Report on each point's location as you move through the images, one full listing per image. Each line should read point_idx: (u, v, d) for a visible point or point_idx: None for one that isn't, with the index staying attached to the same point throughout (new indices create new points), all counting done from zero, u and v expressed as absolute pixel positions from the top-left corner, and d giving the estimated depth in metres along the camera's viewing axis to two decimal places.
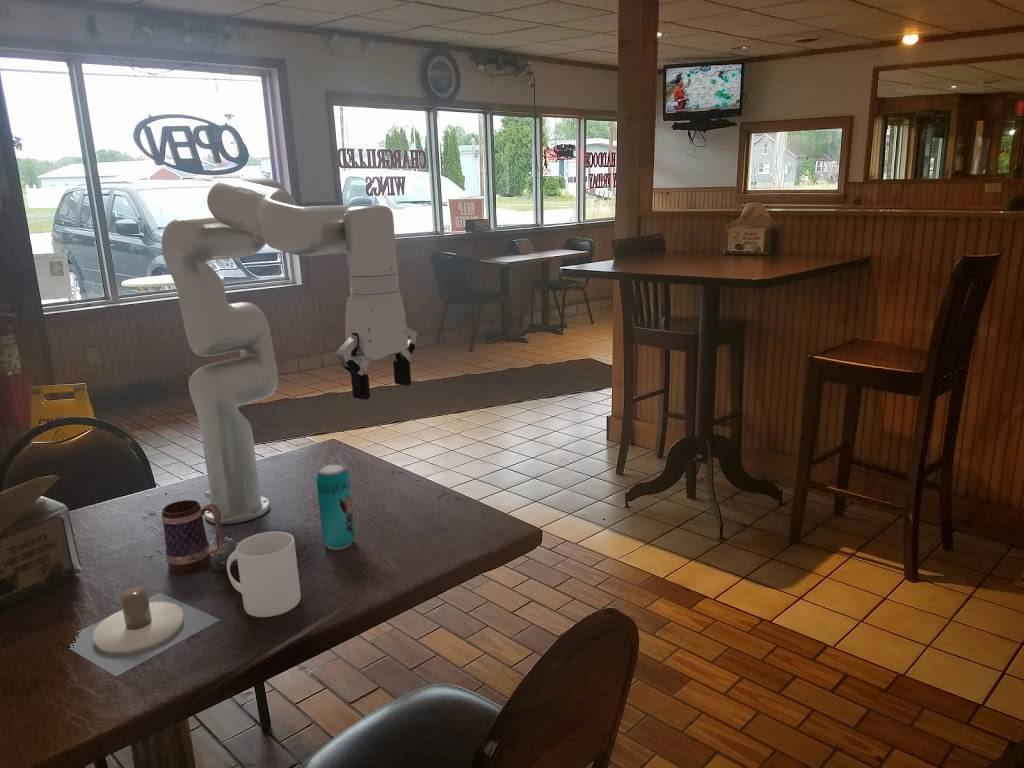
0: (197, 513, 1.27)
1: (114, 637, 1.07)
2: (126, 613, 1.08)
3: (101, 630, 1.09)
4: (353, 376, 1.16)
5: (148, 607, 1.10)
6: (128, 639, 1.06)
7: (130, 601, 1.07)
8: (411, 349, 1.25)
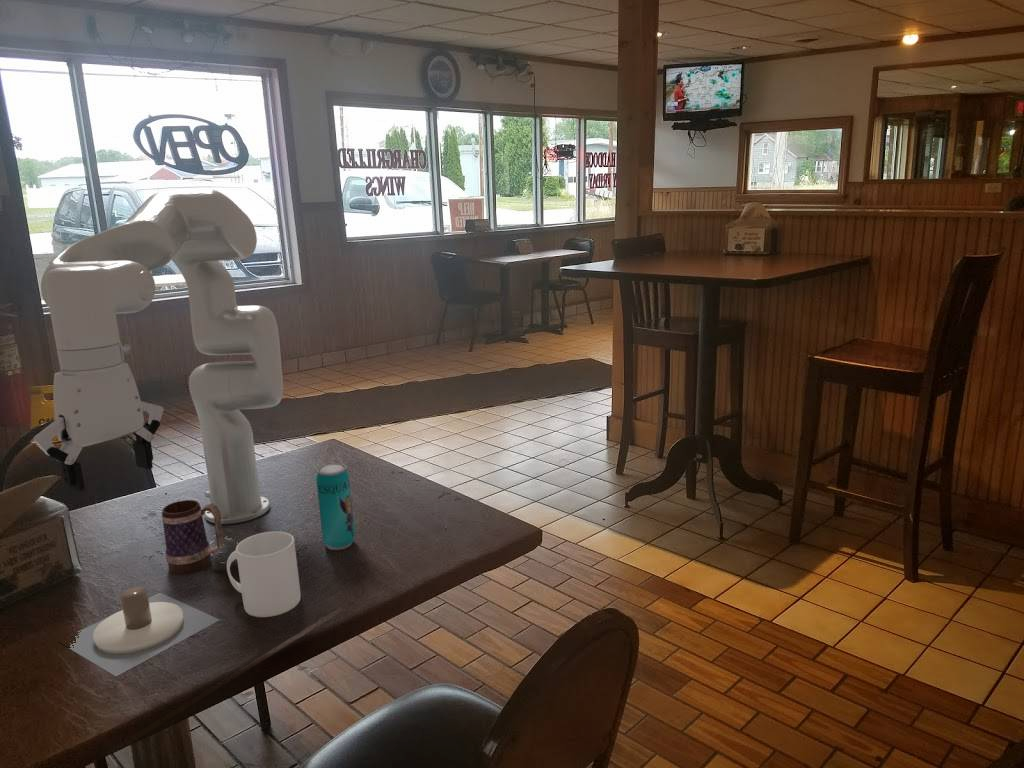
0: (197, 513, 1.27)
1: (114, 637, 1.07)
2: (126, 613, 1.08)
3: (100, 630, 1.09)
4: (62, 465, 0.99)
5: (148, 607, 1.10)
6: (128, 638, 1.06)
7: (130, 601, 1.07)
8: (154, 427, 1.08)
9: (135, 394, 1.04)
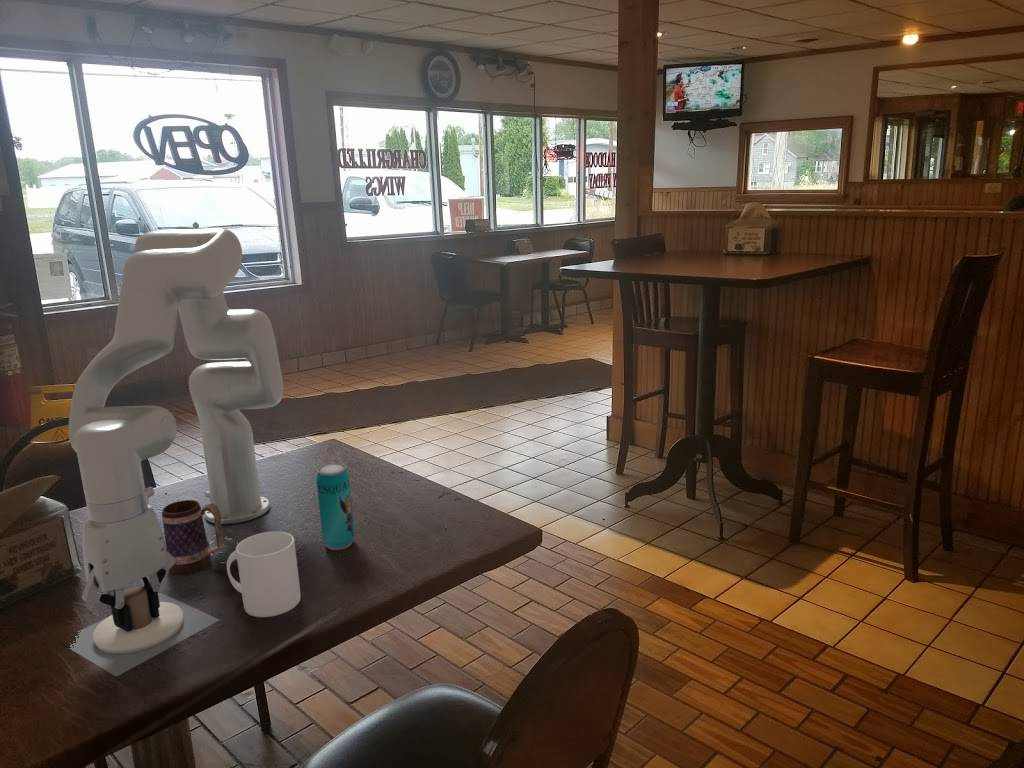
0: (197, 513, 1.27)
1: (114, 637, 1.07)
2: None
3: (100, 630, 1.09)
4: (112, 608, 1.07)
5: (148, 607, 1.10)
6: (128, 638, 1.06)
7: (130, 601, 1.07)
8: (160, 576, 1.11)
9: (159, 535, 1.09)
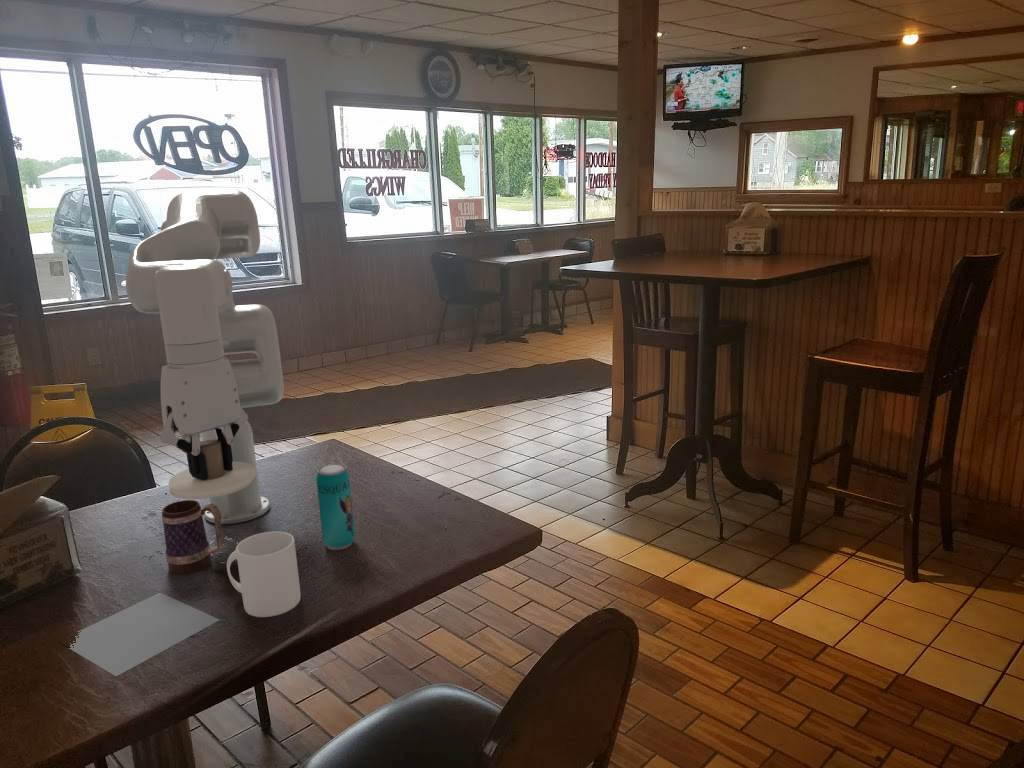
0: (197, 513, 1.27)
1: (189, 484, 1.07)
2: None
3: (175, 480, 1.09)
4: (188, 455, 1.07)
5: (222, 459, 1.10)
6: (204, 485, 1.06)
7: (205, 449, 1.08)
8: (233, 430, 1.11)
9: (234, 386, 1.09)
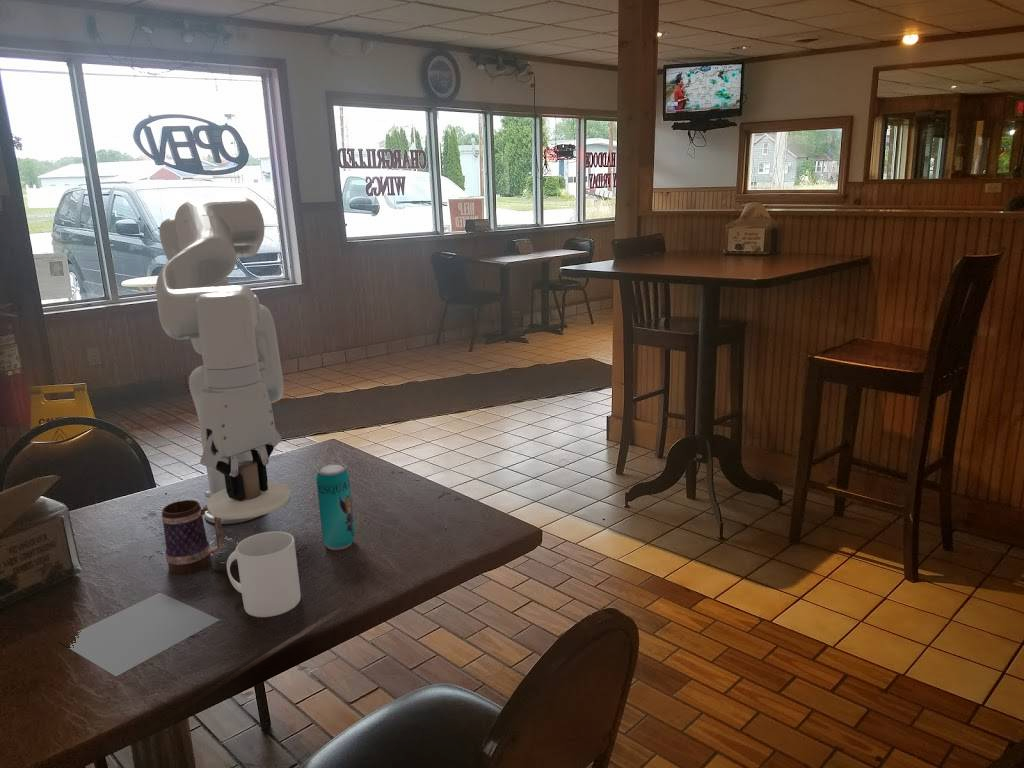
0: (197, 513, 1.27)
1: (228, 505, 1.10)
2: None
3: (213, 500, 1.11)
4: (226, 477, 1.10)
5: (258, 479, 1.13)
6: (243, 506, 1.09)
7: (243, 470, 1.10)
8: (268, 451, 1.14)
9: (269, 408, 1.12)
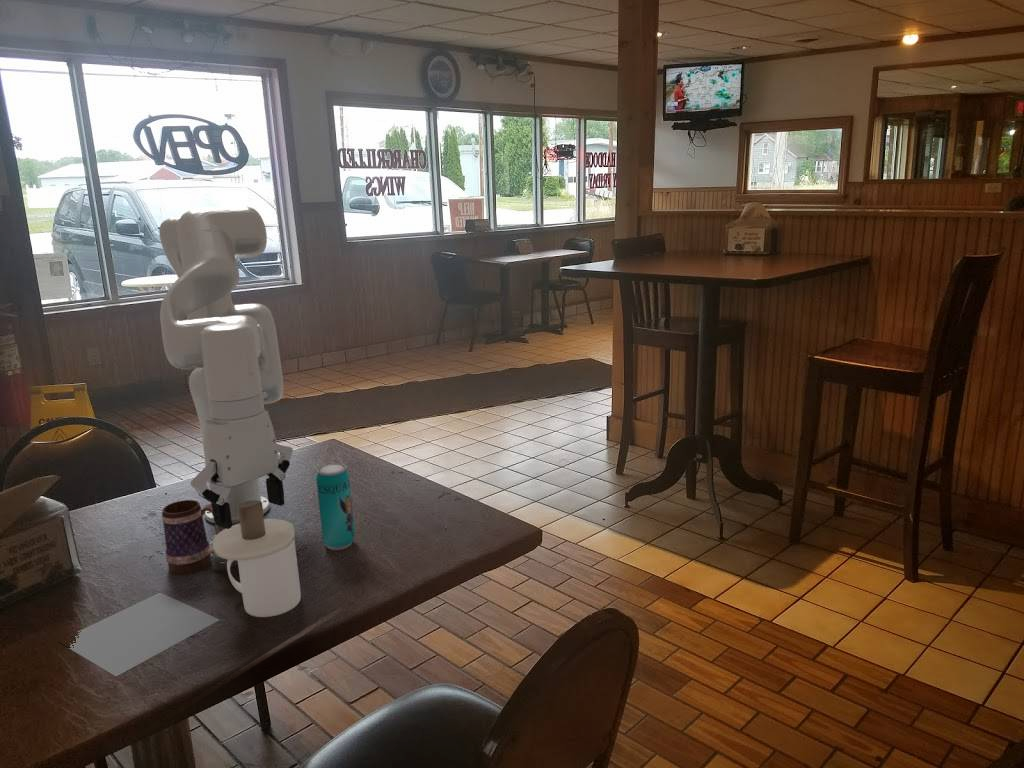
0: (197, 513, 1.27)
1: (233, 545, 1.11)
2: (244, 523, 1.13)
3: (219, 540, 1.13)
4: (213, 505, 1.09)
5: (263, 519, 1.14)
6: (248, 546, 1.11)
7: (248, 511, 1.12)
8: (285, 466, 1.17)
9: (273, 438, 1.13)
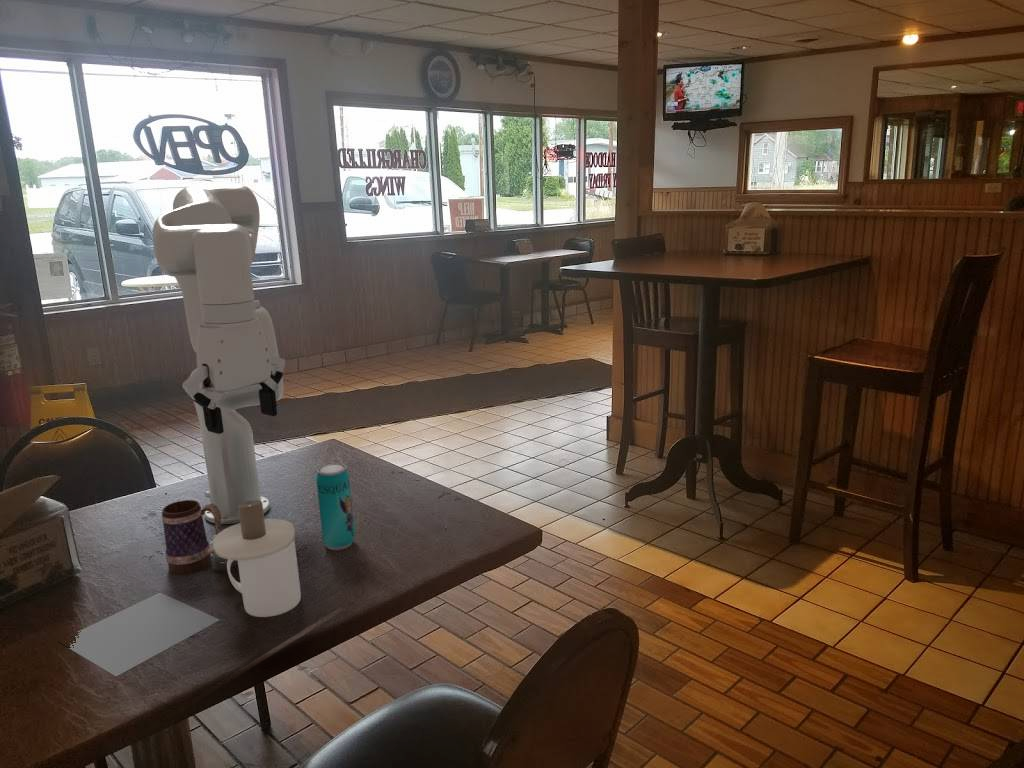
0: (197, 513, 1.27)
1: (233, 545, 1.11)
2: (244, 523, 1.13)
3: (219, 540, 1.13)
4: (204, 409, 1.09)
5: (263, 519, 1.14)
6: (248, 546, 1.11)
7: (248, 511, 1.12)
8: (278, 377, 1.18)
9: (265, 346, 1.13)
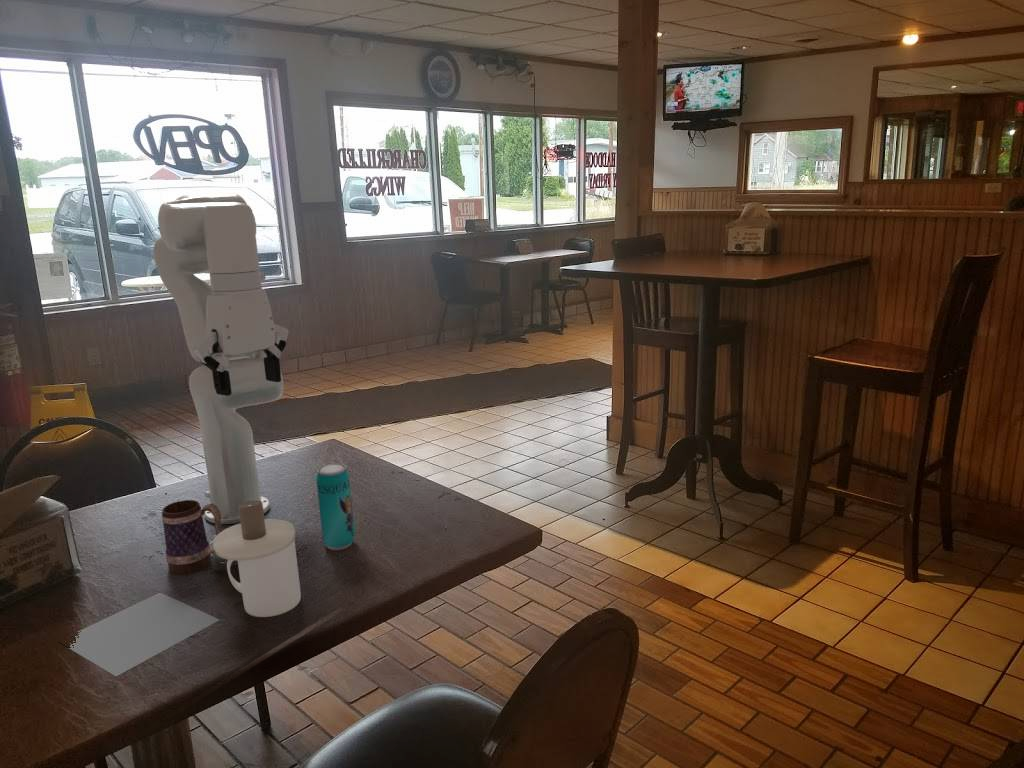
0: (197, 513, 1.27)
1: (234, 545, 1.11)
2: (244, 523, 1.13)
3: (219, 540, 1.13)
4: (214, 372, 1.17)
5: (263, 519, 1.14)
6: (248, 547, 1.11)
7: (248, 511, 1.12)
8: (281, 346, 1.25)
9: (270, 315, 1.21)
